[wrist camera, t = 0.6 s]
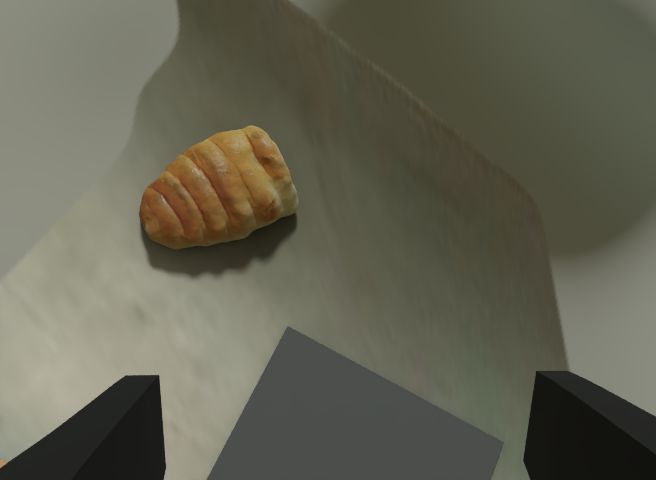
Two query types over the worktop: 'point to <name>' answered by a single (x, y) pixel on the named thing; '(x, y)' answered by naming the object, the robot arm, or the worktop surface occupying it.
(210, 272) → the worktop surface
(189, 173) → the pastry
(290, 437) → the mat
